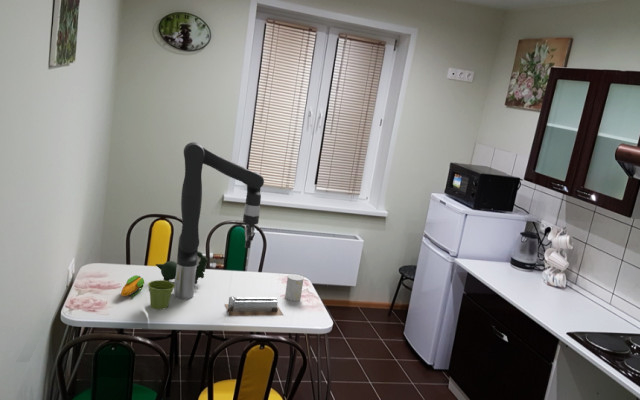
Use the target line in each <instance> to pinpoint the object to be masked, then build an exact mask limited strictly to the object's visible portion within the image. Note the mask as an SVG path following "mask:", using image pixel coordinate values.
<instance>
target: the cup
mask: <svg viewBox="0 0 640 400" xmlns="http://www.w3.org/2000/svg"><path fill="white" fill-rule="evenodd" d="M304 279H305V278H304V277H303V276H302V275H300V274H289V275H287V280H286V286H285V292H284V293H285V294H284V298H285V299H287V300H289V301H295V302H296V301H298V302H301V299H302V292H303V284H304Z"/></svg>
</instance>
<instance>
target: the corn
mask: <svg viewBox="0 0 640 400" xmlns="http://www.w3.org/2000/svg"><path fill="white" fill-rule="evenodd" d="M144 285H145V280H144V277H141V276H140V275H137V274H136V275H133V276H131V277H130V278H128V279H127V281H126V283H125V285H124V286H122V290H121V293H120V295H121V296H122V297H127V296H128V297H129V296H130V295H131V298H132V297H134V296H136V295H137V294H138V293H140V292H141V291H142V290H143V287H144ZM140 288H141V289H140ZM139 289H140V290H139ZM135 292H136V293H135ZM133 293H134V294H133Z"/></svg>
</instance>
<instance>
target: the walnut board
mask: <svg viewBox="0 0 640 400" xmlns="http://www.w3.org/2000/svg"><path fill="white" fill-rule="evenodd" d="M228 304H229V303H228ZM228 304H227V303H226V304H225V303H224V307H225V309H226V311H227V314H228V316H229V317H246V316H247V317H249V316H250V317H253V316H254V317H256V316H260V317H261V316H262V317H264V316H284V313H283V311H282V310H281V309H280V307H279V305H278V304H277V307H278V312H233V311H228Z"/></svg>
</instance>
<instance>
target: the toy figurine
mask: <svg viewBox="0 0 640 400" xmlns="http://www.w3.org/2000/svg"><path fill="white" fill-rule="evenodd" d="M197 258H200V261H199V260H198V261H199V262H198V265H197V266H196V276H195V285H196V284H198V281H199V278H201V279H204V278H205V272H206V267H207V263H208V257H207V256H205V255H203V253H202V252H200V251H198V252H197ZM155 266H156V267H157V268H158V269H159V270H160V273H161V276H162V278H163V280H164V281H169V282H171V280H175V276H176V268H177V261H173V260H169V261H168V260H167V261H166V262H164V263H155Z"/></svg>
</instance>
